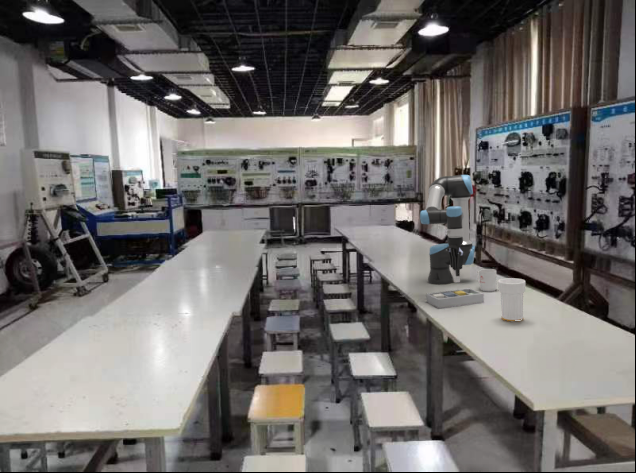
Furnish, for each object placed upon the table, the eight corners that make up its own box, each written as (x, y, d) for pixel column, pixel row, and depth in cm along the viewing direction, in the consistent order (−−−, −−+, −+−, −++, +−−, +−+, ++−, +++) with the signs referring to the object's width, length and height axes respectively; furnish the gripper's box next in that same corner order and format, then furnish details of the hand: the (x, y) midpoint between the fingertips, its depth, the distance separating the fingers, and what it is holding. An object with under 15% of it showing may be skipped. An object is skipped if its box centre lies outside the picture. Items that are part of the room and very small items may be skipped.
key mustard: (453, 295, 247) (453, 291, 247) (461, 294, 248) (461, 290, 248) (458, 297, 243) (457, 293, 242) (465, 296, 244) (465, 292, 243)
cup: (512, 324, 204) (511, 285, 202) (493, 318, 215) (492, 280, 213) (531, 319, 209) (531, 281, 207) (512, 313, 219) (511, 276, 217)
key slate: (443, 297, 246) (443, 293, 246) (451, 296, 247) (450, 292, 246) (447, 299, 242) (447, 295, 241) (455, 298, 242) (455, 293, 242)
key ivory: (432, 298, 245) (432, 294, 244) (440, 297, 246) (440, 293, 245) (436, 300, 240) (436, 296, 240) (444, 299, 241) (444, 295, 241)
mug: (500, 290, 263) (499, 270, 261) (488, 292, 259) (487, 272, 258) (484, 286, 273) (483, 267, 272) (472, 288, 270) (471, 269, 268)
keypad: (426, 302, 249) (426, 293, 249) (469, 296, 254) (469, 287, 254) (438, 308, 236) (438, 299, 235) (483, 302, 241) (483, 293, 240)
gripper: (442, 236, 247) (443, 280, 249) (455, 238, 234) (456, 285, 237) (455, 234, 248) (456, 278, 251) (468, 237, 236) (470, 283, 238)
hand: (456, 281), depth 244 cm, fingers closed
